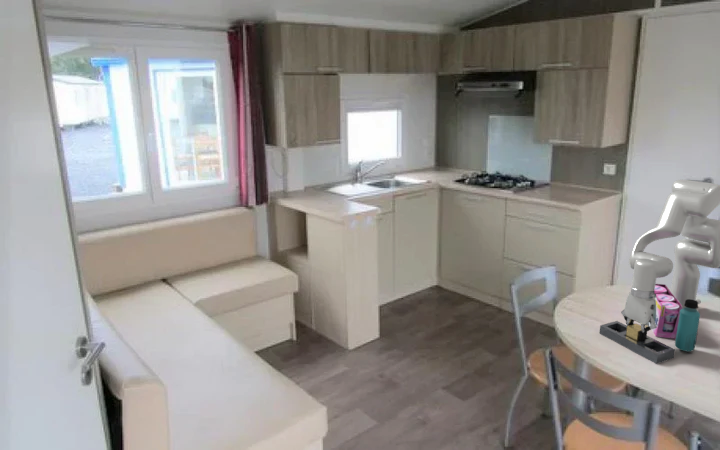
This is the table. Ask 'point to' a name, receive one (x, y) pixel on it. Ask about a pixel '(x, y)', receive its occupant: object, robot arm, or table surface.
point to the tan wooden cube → (633, 332)
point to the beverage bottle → (687, 326)
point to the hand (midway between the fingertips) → (635, 336)
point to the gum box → (666, 312)
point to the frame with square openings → (637, 343)
